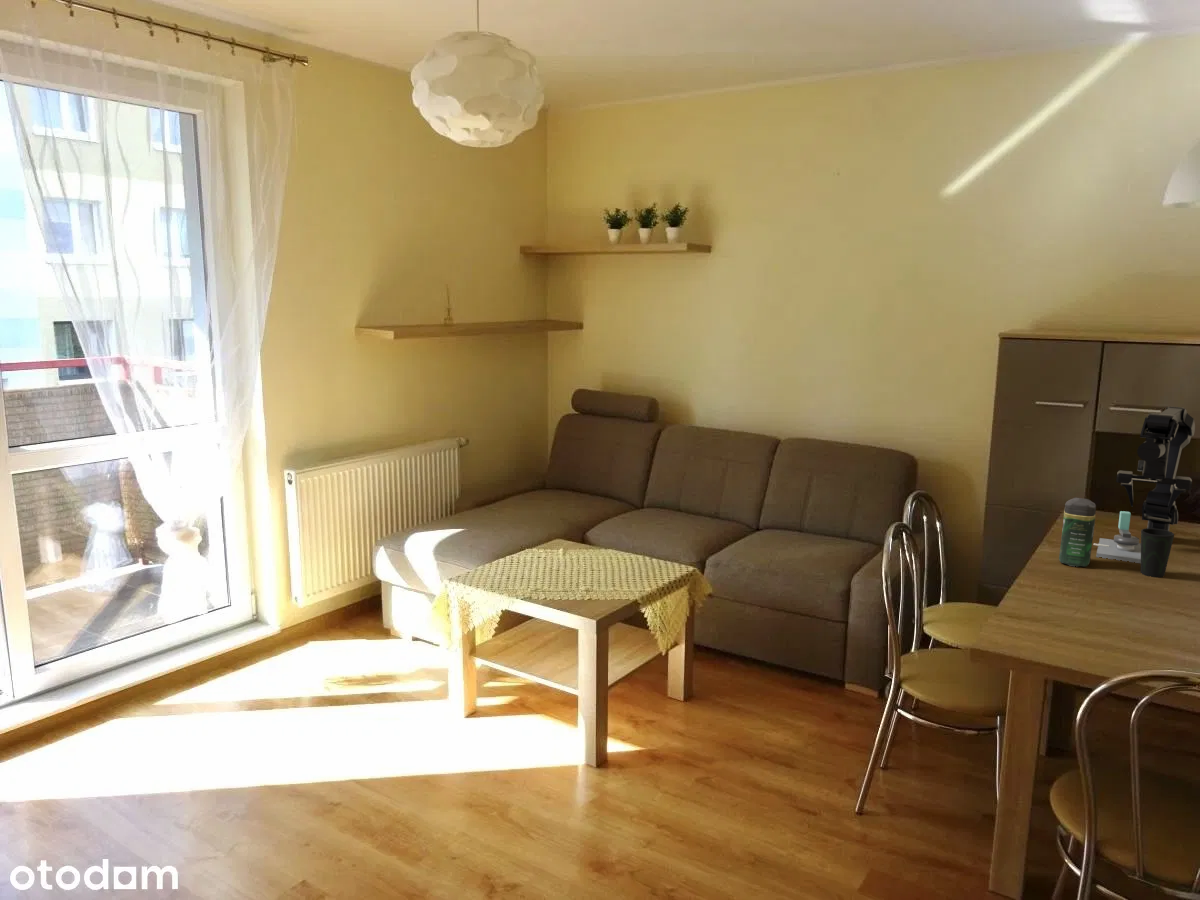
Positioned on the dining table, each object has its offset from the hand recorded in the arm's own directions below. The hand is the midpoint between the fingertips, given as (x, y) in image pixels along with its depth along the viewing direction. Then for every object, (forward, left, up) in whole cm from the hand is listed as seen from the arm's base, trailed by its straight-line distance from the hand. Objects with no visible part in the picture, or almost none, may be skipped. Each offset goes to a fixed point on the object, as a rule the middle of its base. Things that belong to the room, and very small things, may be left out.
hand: (1149, 508), depth 260 cm
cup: (+24, +2, -13) cm, 27 cm away
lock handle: (+4, -5, -10) cm, 12 cm away
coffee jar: (+24, -17, -13) cm, 32 cm away
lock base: (+6, -5, -13) cm, 15 cm away
